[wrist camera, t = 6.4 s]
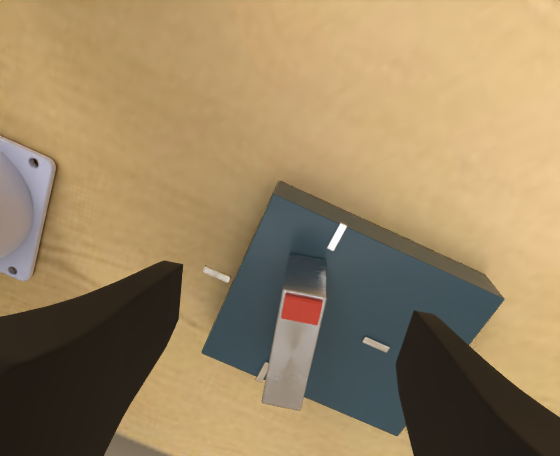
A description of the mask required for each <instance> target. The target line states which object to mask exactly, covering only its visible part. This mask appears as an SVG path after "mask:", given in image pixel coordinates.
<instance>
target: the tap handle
mask: <svg viewBox="0 0 560 456" xmlns="http://www.w3.org/2000/svg"><path fill="white" fill-rule="evenodd" d="M326 301H327V261H326V260H323V259H318V258H312V257H307V256H302V255H297V254H291V253H290V254H289V259H288V264H287V269H286V274H285V279H284V284H283V290H282V295H281V300H280V306H279V311H278V316H277V322H276V327H275V332H274V338H273V343H272V348H271V354H270V359H269V365H268V370H267V375H266V381H265V386H264V391H263V397H262V403H264V404H269V405H273V406H278V407H283V408H288V409H293V410H298V411H300V410H301V407H302V402H303V398H304V394H305V390H306V386H307V381H308V377H309V373H310V369H311V364H312V360H313V356H314V352H315V347H316V343H317V339H318V335H319V331H320V326H321V322H322V318H323V314H324V309H325V305H326Z"/></svg>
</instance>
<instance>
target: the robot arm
mask: <svg viewBox="0 0 560 456" xmlns="http://www.w3.org/2000/svg"><path fill="white" fill-rule="evenodd" d="M34 158H35V159H36V160H37V161H38V166H37V165H36V164H35V163H34ZM55 171H56V165H55V162H54V161H53V160H52V159H51V158H49V157H47V156H45V155H43V154H41V153H38V152H36V151H34V150H32V149H29V148H27V147H25V146H23V145H20V144H18V143H16V142H14V141H11V140H9V139H7V138H5V137H2V136H0V272H1V273H4V274H6V275H8V276H11V277H13V278H15V279H18V280H20V281H26V280H28V279H29V278H31V277H32V275H33V271H34V267H35V262H36V257H37V253H38V248H39V244H40V239H41V235H42V230H43V226H44V221H45V217H46V212H47V208H48V203H49V198H50V194H51V189H52V185H53V180H54V176H55ZM13 267H14V268H15V269H16V270H17V271H16V270H14V268H13ZM182 272H183V264H179V263H174V262H169V261H162V262H159V263H156V264H154V265H152V266H150V267H148V268H146V269H143V270H141V271H139V272H137V273H135V274H133V275H130V276H128V277H126V278H124V279H122V280H119V281H117V282H115V283H112V284H110V285H108V286H105V287H103V288H100V289H98V290H95V291H93V292H90V293H88V294H85V295H82V296H79V297H76V298H73V299H70V300H67V301H64V302H60V303H57V304H54V305H50V306H46V307H42V308H38V309H34V310H29V311H25V312H21V313H16V314H12V315H7V316H2V317H0V456H104V454H105V452H106V450H107V448H108V446H109V444H110V442H111V440H112V438H113V436H114V434H115V432H116V430H117V428H118V426H119V424H120V422H121V420H122V418H123V416H124V414H125V412H126V411H127V409H128V407H129V405H130V404H131V402H132V401H133V399H134V397H135V396H136V394H137V393H138V391H139V389H140V388H141V386H142V385H143V383H144V382H145V380H146V378H147V377H148V375H149V374H150V372H151V370H152V369H153V367H154V366H155V364H156V362H157V361H158V359H159V358H160V356H161V354H162V353H163V351H164V349H165V348H166V346H167V344H168V342H169V340H170V337H171V335H172V333H173V331H174V329H175V326H176V324H177V322H178V319H179V307H180V295H181V284H182ZM396 375H397V385H398V393H399V398H400V402H401V406H402V410H403V414H404V419H405V422H406V426H407V430H408V434H409V438H410V442H411V446H412V450H413V454H414V456H560V417H558V416H557V415H555V414H554V413H552V412H551V411H549V410H548V409H547V408H545V407H544V406H542V405H541V404H540V403H538V402H537V401H535V400H534V399H533V398H531V397H530V396H529V395H527V394H526V393H524V392H523V391H522V390H520V389H519V388H518V387H517V386H515V385H514V384H513V383H512V382H510V381H509V380H508V379H507V378H505V377H504V376H503V375H502V374H501V373H499V372H498V371H497V370H496V369H495V368H493V367H492V366H491V365H490V364H489V363H488V362H487V361H485V360H484V359H483V358H482V357H481V356H480V355H479V354H478V353H477V352H475V351H474V350H473V349H472V348H471V347H470V346H469V345H468V344H467V343H466V342H465V341H464V340H463V339H461V338H460V337H459V336H458V335H457V334H456V333H455V332H454V331H453V330H452V329H451V328H450V327H449V326H447V325H446V324H445V323H444V322H443V321H442V320H441V319H440V318H438V317H437V316H436V315H434V314H431V313H426V312H421V311H416V310H414V311H413V314H412V317H411V320H410V323H409V326H408V329H407V332H406V334H405V337H404V340H403V343H402V346H401V349H400V352H399V355H398V358H397V361H396Z"/></svg>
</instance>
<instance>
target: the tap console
mask: <svg viewBox="0 0 560 456" xmlns="http://www.w3.org/2000/svg"><path fill="white" fill-rule="evenodd" d="M290 253H291V254H297V255H302V256H307V257H312V258H318V259H323V260H326V261H327V301H326V305H325V309H324V314H323V318H322V322H321V326H320V331H319V335H318V339H317V343H316V347H315V352H314V356H313V360H312V364H311V369H310V373H309V377H308V381H307V386H306V390H305V394H304V397H306V398H308V399H311V400H313V401H315V402H318V403H320V404H322V405H325V406H327V407H329V408H332V409H334V410H336V411H339V412H341V413H343V414H346V415H348V416H350V417H353V418H355V419H358V420H360V421H362V422H365V423H367V424H369V425H372V426H374V427H376V428H379V429H381V430H383V431H386V432H388V433H390V434H393V435H395V436H398V435H399V434H400V433H401V431H402V430H403V429H404V427H405V426H406V422H405V419H404V414H403V410H402V406H401V402H400V398H399V393H398V385H397V375H396V361H397V358H398V355H399V352H400V349H401V346H402V343H403V340H404V337H405V334H406V332H407V329H408V326H409V323H410V320H411V317H412V314H413V311H414V310H416V311H421V312H426V313H431V314H434V315H436V316H437V317H438V318H440V319H441V320H442V321H443V322H444V323H445V324H446V325H447V326H449V327H450V328H451V329H452V330H453V331H454V332H455V333H456V334H457V335H458V336H459V337H460V338H461V339H463V340H464V341H465V342H466V343H467V344H468V345H469V344H470V343H471V342H472V341H473V339H474V338H475V337H476V335H477V334H478V333H479V332H480V330H481V329H482V328H483V327H484V325H485V324H486V323H487V321H488V320H489V319H490V318H491V316H492V315H493V314H494V312H495V311H496V310H497V309H498V307H499V306H500V305H501V303H502V302H503V301H504V298H503V296H502V295H501V294H500V293H499V291H498V290H497V289H496V288H495V286H494V285H493V284H492V282H491V281H490V280H489V279H488V277H487V276H486V275H485V274H483V273H480V272H478V271H476V270H474V269H472V268H470V267H467V266H465V265H463V264H461V263H459V262H456V261H454V260H452V259H450V258H448V257H446V256H443V255H441V254H439V253H437V252H435V251H432V250H430V249H428V248H426V247H424V246H421V245H419V244H417V243H415V242H413V241H411V240H408V239H406V238H404V237H402V236H400V235H397V234H395V233H393V232H391V231H389V230H386V229H384V228H382V227H380V226H378V225H376V224H373V223H371V222H369V221H367V220H365V219H362V218H360V217H358V216H356V215H354V214H352V213H349V212H347V211H345V210H343V209H341V208H338V207H336V206H334V205H332V204H330V203H327V202H325V201H323V200H321V199H319V198H317V197H314V196H312V195H310V194H308V193H306V192H303V191H301V190H299V189H297V188H295V187H293V186H290V185H288V184H286V183H284V182H282V181H278V183H277V185H276V188H275V190H274V192H273V194H272V197H271V199H270V201H269V203H268V205H267V208H266V210H265V212H264V214H263V216H262V219H261V221H260V223H259V225H258V227H257V230H256V232H255V234H254V236H253V238H252V241H251V243H250V245H249V247H248V249H247V252H246V254H245V256H244V258H243V261H242V263H241V265H240V267H239V269H238V272H237V274H236V276H235V278H234V280H233V283H232V285H231V287H230V289H229V291H228V294H227V296H226V298H225V300H224V302H223V305H222V307H221V309H220V311H219V314H218V316H217V318H216V320H215V322H214V325H213V327H212V329H211V331H210V334H209V336H208V338H207V340H206V343H205V345H204V347H203V349H202V354H205V355H207V356H209V357H212V358H214V359H216V360H219V361H221V362H224V363H226V364H228V365H231V366H233V367H235V368H238V369H240V370H242V371H245V372H247V373H249V374H252V375H254V376H256V381H258V382H262V381H263V379H264V380H266V375H267V370H268V365H269V359H270V354H271V348H272V343H273V338H274V332H275V327H276V322H277V316H278V311H279V306H280V300H281V295H282V290H283V284H284V279H285V274H286V269H287V264H288V259H289V254H290ZM202 272H203V273H205V274H208V275H210V276H212V277H215V278H217V279H219V280H221V281H224V282H226V283H228V282H229V280H230V278H231V276H229V275H227V274H225V273H222V272H220V271H218V270H215V269H213V268H211V267H209V266H206V265H205V266H204V269H203V271H202Z"/></svg>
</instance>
